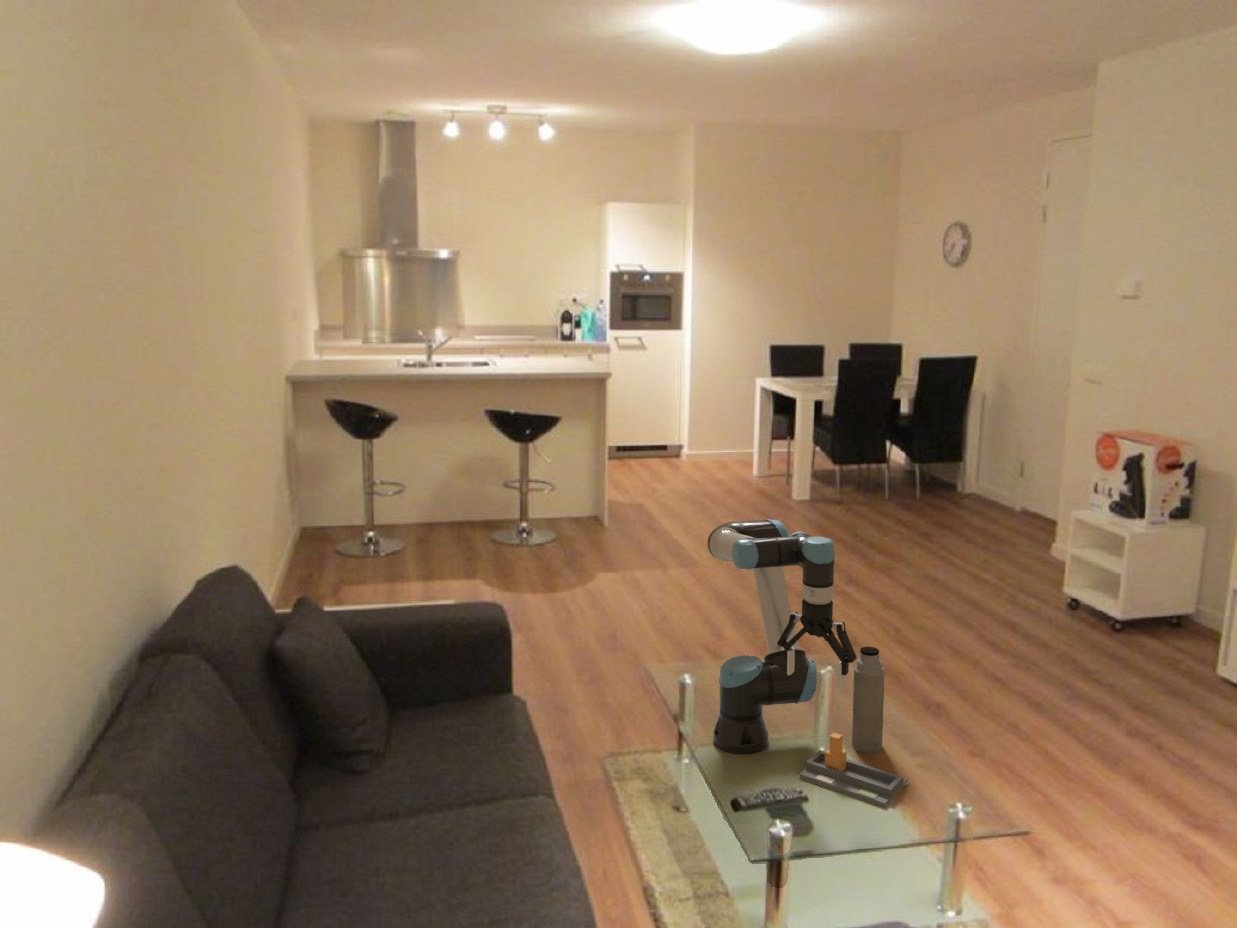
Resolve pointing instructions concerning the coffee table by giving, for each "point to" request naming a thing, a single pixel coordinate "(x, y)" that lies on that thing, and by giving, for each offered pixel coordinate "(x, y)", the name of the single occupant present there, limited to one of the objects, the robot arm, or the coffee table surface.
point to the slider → (836, 753)
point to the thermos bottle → (868, 701)
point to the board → (854, 780)
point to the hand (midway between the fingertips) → (815, 679)
